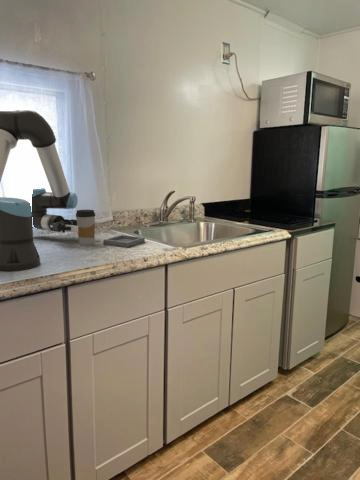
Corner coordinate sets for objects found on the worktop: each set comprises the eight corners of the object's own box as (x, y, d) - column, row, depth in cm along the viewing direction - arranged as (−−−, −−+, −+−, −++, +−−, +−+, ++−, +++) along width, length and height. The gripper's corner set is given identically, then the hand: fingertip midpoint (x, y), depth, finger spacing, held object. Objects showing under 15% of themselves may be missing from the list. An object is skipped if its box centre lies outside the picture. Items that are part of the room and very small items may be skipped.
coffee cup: (91, 246, 159) (90, 212, 156) (73, 246, 161) (71, 211, 158) (99, 242, 167) (98, 209, 164) (82, 242, 169) (80, 209, 166)
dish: (127, 247, 158) (127, 242, 158) (103, 244, 164) (103, 239, 164) (144, 242, 169) (144, 237, 169) (121, 239, 175) (121, 234, 175)
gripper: (73, 227, 184) (107, 231, 174) (32, 235, 162) (68, 240, 152) (72, 212, 182) (106, 215, 172) (30, 218, 161) (67, 222, 151)
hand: (88, 226), depth 162 cm, fingers open, 13 cm apart
